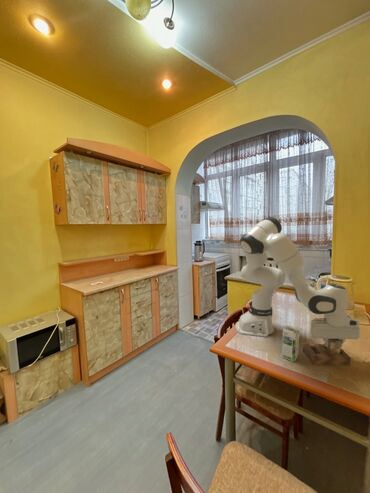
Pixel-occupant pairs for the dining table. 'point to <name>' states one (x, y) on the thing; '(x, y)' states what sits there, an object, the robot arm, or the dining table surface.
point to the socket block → (324, 355)
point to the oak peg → (334, 346)
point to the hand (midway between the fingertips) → (333, 346)
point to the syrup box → (290, 343)
